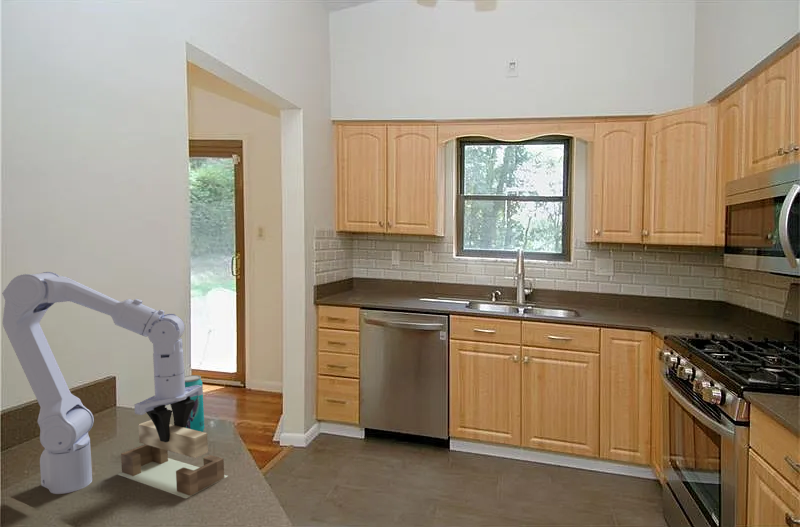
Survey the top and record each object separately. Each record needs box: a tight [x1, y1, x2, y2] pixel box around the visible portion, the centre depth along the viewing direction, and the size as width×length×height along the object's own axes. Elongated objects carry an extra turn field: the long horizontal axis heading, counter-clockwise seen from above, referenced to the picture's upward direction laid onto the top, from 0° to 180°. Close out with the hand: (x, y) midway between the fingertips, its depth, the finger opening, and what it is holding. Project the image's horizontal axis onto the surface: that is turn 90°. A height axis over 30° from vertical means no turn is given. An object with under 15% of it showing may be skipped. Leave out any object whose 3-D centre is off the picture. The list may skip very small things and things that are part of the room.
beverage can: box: [184, 374, 205, 432], centre depth 127 cm, size 6×6×15 cm
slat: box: [138, 419, 209, 459], centre depth 104 cm, size 18×3×4 cm, turn 61°
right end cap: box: [176, 454, 225, 497], centre depth 99 cm, size 4×8×4 cm, turn 150°
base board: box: [116, 457, 229, 499], centre depth 103 cm, size 22×10×1 cm, turn 60°
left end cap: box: [120, 444, 169, 476], centre depth 108 cm, size 4×8×4 cm, turn 150°
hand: (172, 438), depth 104 cm, fingers closed on slat, 3 cm apart
